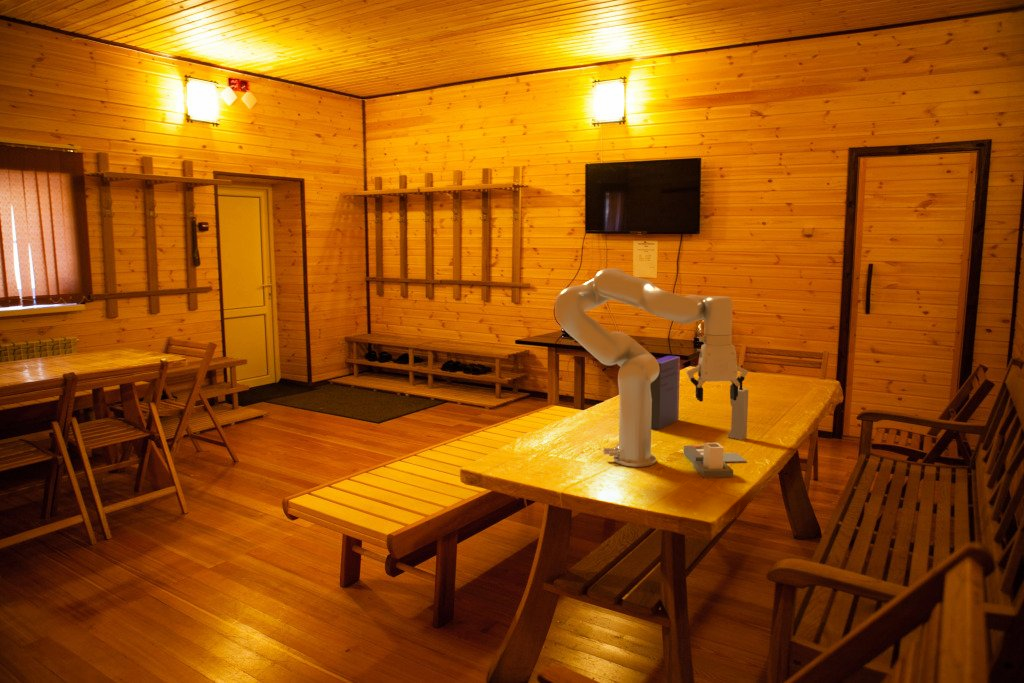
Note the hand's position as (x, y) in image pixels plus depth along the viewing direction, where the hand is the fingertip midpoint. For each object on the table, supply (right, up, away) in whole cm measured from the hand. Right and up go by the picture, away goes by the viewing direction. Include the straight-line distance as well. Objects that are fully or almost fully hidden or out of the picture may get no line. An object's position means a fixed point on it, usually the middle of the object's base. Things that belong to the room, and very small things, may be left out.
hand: (716, 399), depth 201 cm
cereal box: (-3, -14, +56) cm, 58 cm away
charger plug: (0, -21, +2) cm, 21 cm away
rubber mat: (+8, -19, +15) cm, 25 cm away
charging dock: (-1, -20, +8) cm, 22 cm away
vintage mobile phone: (+18, -16, +37) cm, 44 cm away
